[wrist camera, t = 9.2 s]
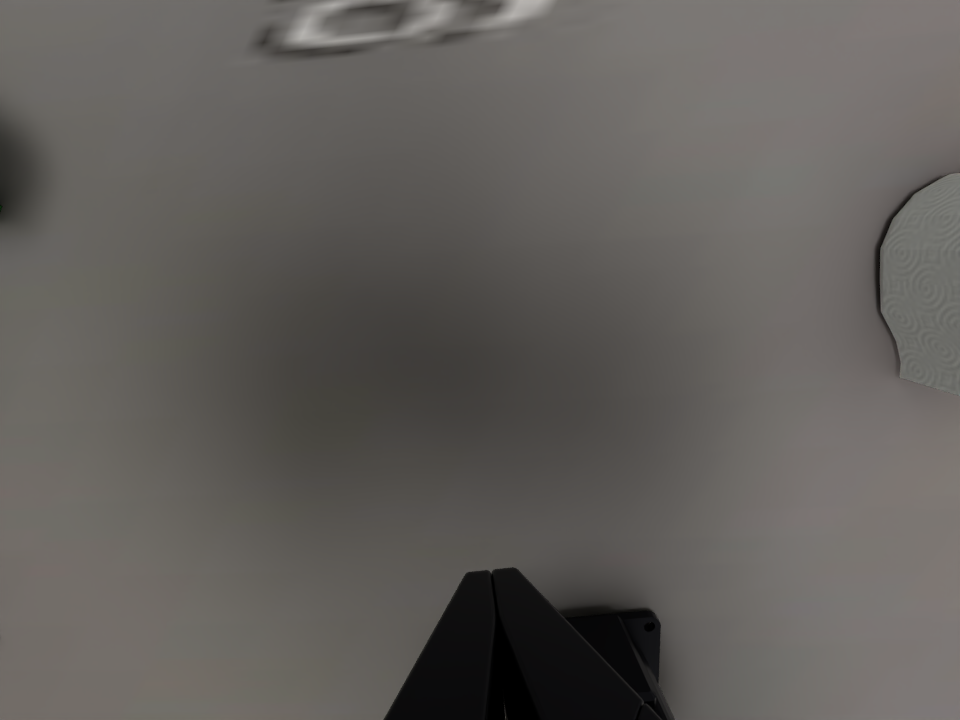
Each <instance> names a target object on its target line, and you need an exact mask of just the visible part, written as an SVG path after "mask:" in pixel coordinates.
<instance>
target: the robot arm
mask: <svg viewBox="0 0 960 720" xmlns="http://www.w3.org/2000/svg"><path fill="white" fill-rule="evenodd" d="M648 622H651V623H650V624H648V625H645V624H646V623H648ZM660 628H661V625H660V622H659V620H658V618H657V616H656V615H655V614H654V613H653V612H651V611H639V612H628V613H617V614H605V615H594V616H583V617H572V618H564V617H563V616H562V615H561V614H560V613H559V612H558V611H557V610H556V609H555V608H554V607H553V606H552V605H551V604H550V602H549V601H548V600H547V599H546V598H545V597H544V596H543V595H542V594H541V593H540V592H539V591H538V590H537V589H536V588H535V587H534V586H533V585H532V584H531V583H530V582H529V581H528V580H527V579H526V577H525V576H524V575H523V574H522V573H521V572H520V571H519V570H518V569H516V568H514V567H512V568H503V569H495V570H493V571H492V575H491V573H490V571H488V570H484V571H474V572H468V573H466V574H465V576H464V577H463V579H462V581H461V583H460V585H459V586H458V588H457V590H456V592H455V593H454V595H453V597H452V599H451V601H450V602H449V604H448V606H447V608H446V609H445V611H444V613H443V615H442V617H441V618H440V620H439V622H438V624H437V626H436V627H435V629H434V631H433V633H432V634H431V636H430V638H429V640H428V642H427V643H426V645H425V647H424V649H423V650H422V652H421V654H420V656H419V658H418V659H417V661H416V663H415V665H414V666H413V668H412V670H411V672H410V674H409V675H408V677H407V679H406V681H405V683H404V684H403V686H402V688H401V690H400V691H399V693H398V695H397V697H396V699H395V700H394V702H393V704H392V706H391V707H390V709H389V711H388V713H387V715H386V716H385V718H384V720H505V713H506V720H675V719H674V716H673V714H672V712H671V710H670V708H669V706H668V704H667V702H666V700H665V698H664V695H663V693H662V691H661V689H660V687H659V685H658V677H659V653H660ZM504 706H505V710H504Z"/></svg>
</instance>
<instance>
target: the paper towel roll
mask: <svg viewBox="0 0 960 720" xmlns="http://www.w3.org/2000/svg"><path fill="white" fill-rule="evenodd" d="M880 297H881V312H882V314H883V316H884V318H885V320H886V322H887V324H888V326H889V328H890V330H891V332H892V334H893V336H894V338H895V340H896V343H897V347H898V352H899V356H900V361H901V366H900V377H899V378H902V379H906V380H909V381H912V382H915V383H919V384H922V385H925V386H929V387H932V388H935V389H938V390H942V391H945V392H948V393H951V394H955V395H958V396H960V173H955V174H949V175H947V176H945V177H943V178H941V179H939V180H937V181H936V182H934V183H932V184H931V185H929V186H927V187H925V188H924V189H922V190H920V191H918V192H917V193H915V194H914V195H913V196H912V198H911V199H910V200H909V201H908V202H907V203H906V204H905V206H904V207H903V208H902V209H901V210H900V211H899V213H898V214H897V215H896V216H895V217H894V218H893V220H892V222H891V225H890V227H889V230H888V232H887V234H886V237H885V239H884V242H883V244H882V246H881V249H880Z"/></svg>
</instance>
